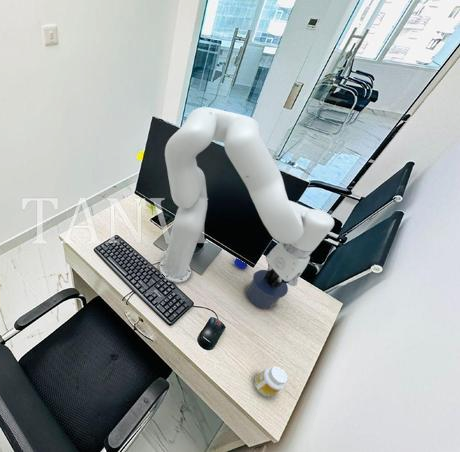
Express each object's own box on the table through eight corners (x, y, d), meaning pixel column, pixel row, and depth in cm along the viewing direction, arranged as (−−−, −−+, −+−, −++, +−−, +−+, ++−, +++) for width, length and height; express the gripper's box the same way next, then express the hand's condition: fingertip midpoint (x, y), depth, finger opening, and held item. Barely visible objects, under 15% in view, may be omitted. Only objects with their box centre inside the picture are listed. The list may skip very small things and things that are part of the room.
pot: (240, 288, 98) (248, 275, 92) (261, 282, 100) (271, 269, 94) (257, 312, 91) (268, 299, 85) (280, 305, 93) (291, 292, 87)
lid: (245, 275, 93) (251, 265, 89) (270, 268, 95) (277, 259, 92) (267, 302, 85) (274, 293, 81) (293, 294, 88) (302, 284, 84)
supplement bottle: (277, 394, 72) (295, 383, 65) (261, 399, 71) (277, 388, 64) (266, 373, 76) (281, 361, 69) (250, 377, 75) (264, 366, 68)
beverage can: (247, 271, 104) (262, 246, 94) (234, 268, 105) (248, 243, 95) (245, 261, 108) (259, 236, 98) (232, 259, 108) (246, 234, 98)
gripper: (269, 230, 81) (247, 266, 94) (310, 269, 70) (279, 304, 82) (287, 226, 83) (264, 262, 96) (330, 264, 72) (297, 299, 84)
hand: (271, 281), depth 89 cm, fingers closed
